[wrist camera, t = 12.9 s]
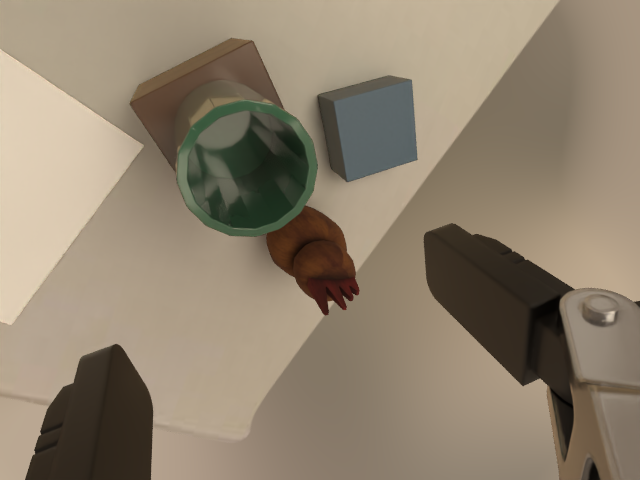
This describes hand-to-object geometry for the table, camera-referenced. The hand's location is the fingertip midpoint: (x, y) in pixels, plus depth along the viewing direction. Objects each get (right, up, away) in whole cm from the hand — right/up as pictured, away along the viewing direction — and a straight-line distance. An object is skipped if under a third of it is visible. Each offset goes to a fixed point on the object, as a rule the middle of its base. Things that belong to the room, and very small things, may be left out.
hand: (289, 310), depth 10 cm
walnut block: (-8, +12, +23) cm, 27 cm away
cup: (-5, +8, +15) cm, 18 cm away
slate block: (+5, +13, +27) cm, 30 cm away
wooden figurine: (-2, +3, +30) cm, 30 cm away
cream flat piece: (-27, +7, +19) cm, 33 cm away
